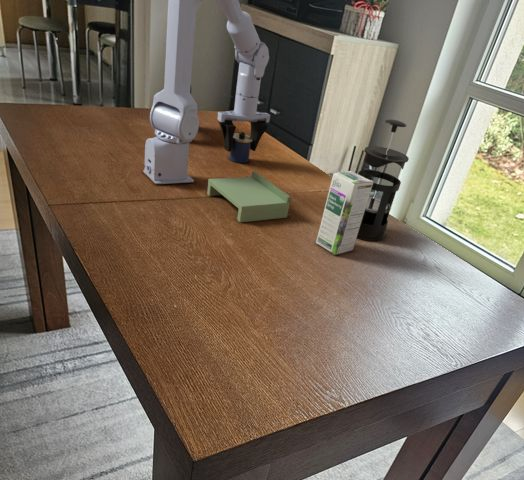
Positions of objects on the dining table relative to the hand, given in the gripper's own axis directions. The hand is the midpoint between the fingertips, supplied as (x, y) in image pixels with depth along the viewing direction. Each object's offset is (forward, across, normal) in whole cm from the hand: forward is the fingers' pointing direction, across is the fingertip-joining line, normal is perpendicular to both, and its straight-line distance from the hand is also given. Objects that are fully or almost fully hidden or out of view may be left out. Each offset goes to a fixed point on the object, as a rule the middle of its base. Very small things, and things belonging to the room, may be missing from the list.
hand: (240, 150), depth 135 cm
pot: (+3, 0, 0) cm, 3 cm away
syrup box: (+3, +6, +50) cm, 50 cm away
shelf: (+2, +14, +28) cm, 31 cm away
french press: (+3, -6, +45) cm, 45 cm away
